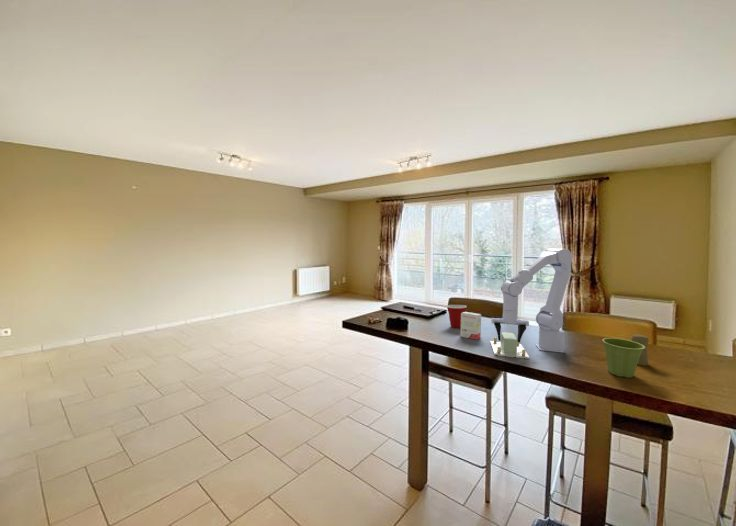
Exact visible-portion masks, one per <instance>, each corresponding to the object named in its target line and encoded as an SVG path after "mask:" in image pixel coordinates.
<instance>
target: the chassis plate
mask: <svg viewBox="0 0 736 526" xmlns="http://www.w3.org/2000/svg"><path fill="white" fill-rule="evenodd" d="M497 339H498V337H496V336H495V337H493V341H492V340H490V343H489V344H490V347H491V346H492V347H491V350H492V349H493V350H492V352H494V353H493V356H495V355H498V356H497V357H505V356H506V357H507V358H514V357H516V359H524V358H525V360H530V356H529V354H528V353H527V351H526V349H525V348H524V346H523V345H522V344H521V343H519V342H518V341H517V353H515V352H505V351H503V349H502V346H501V341H497Z"/></svg>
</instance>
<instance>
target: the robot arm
mask: <svg viewBox="0 0 736 526" xmlns="http://www.w3.org/2000/svg"><path fill="white" fill-rule="evenodd" d="M573 257H574V256H573V254H572V252H571V250H570V249H568V248H552V247H549V248H545V250H544V251H542V252H541V254H540V256H539V257H538V258H537V259H536V260H534V261H533V263H532V264H531V265H530V266H529V267H528V268H527V269H520V270H518V271H517V273H516V274H515V275H514V276H513V277H511V278H510V279H509V280H507V281H504V282H503V284H502V285H501V286H500V291H501V292H502V297H503V300H502V301H503V303H502V317H491V319H490V320H491V322H490V323H491V324H493V325H494V328H495V331H496V333H497V339H498V342H501V332H502V326H501V324H503V325H514V326H515V325H516V326H517V337H516V338H517V341H518V342H519V344H521V340H522V336H523V334H524V333H525V331H526V330H527V327H529V326H530V321H529V320H525V319H518V309H519V295H521V294H522V291H523V289H524V288H525V287H526V285H528V284H529V283H531V282H532V281H533V279H534V275H535V274H537V273H538V272H539V271H541V270H542V269H543V268H545V267H546V266H548V265H550V266H551V267H552V268H553V269H554V275H553V279H552V282H551V285H550V288H549V292H548V296H547V300H546V302H545V305H544V306H541V307H540V310H539V312H538V313H537V314H536V316H535V322H536V323H537V325H538V329H539V330H538V343H535V346H536V347H537V348H538V350H539V351H542V352H543V351H544V352H552V353H565V339H566V338H565V337H566V336H565V332H564V330H563V329H562V327H563V326H564V320H563V319H564V313H563V312H562V310H561V306H562V302H563V299H564V295H565V292H566V289H567V286H568V282H569V278H570V276H571V275H570V274H571V271H572V261H573Z"/></svg>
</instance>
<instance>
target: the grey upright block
mask: <svg viewBox="0 0 736 526" xmlns="http://www.w3.org/2000/svg"><path fill="white" fill-rule="evenodd" d="M630 339H631V340H630V341H633V342H637V343H640V344H642V345H644V346H645V349H643V350H642V353H641V355H640V357H639V360H638V365H637V366H641V365H648V366H649V359H648V348H647V347H648V346H647V345H648V344H649V341H650V340H649V337H648V336H646V335H644V334H643V335H642V334H632V335H631V337H630Z"/></svg>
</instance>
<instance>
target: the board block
mask: <svg viewBox="0 0 736 526" xmlns="http://www.w3.org/2000/svg"><path fill="white" fill-rule="evenodd" d="M500 336H501V340H500V342H501V346H502V349H503V351H505V352H515V353H517V338H518V337H516V335H515V334H514V333H513V332H505V331H503V332H502V331H501V333H500Z"/></svg>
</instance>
